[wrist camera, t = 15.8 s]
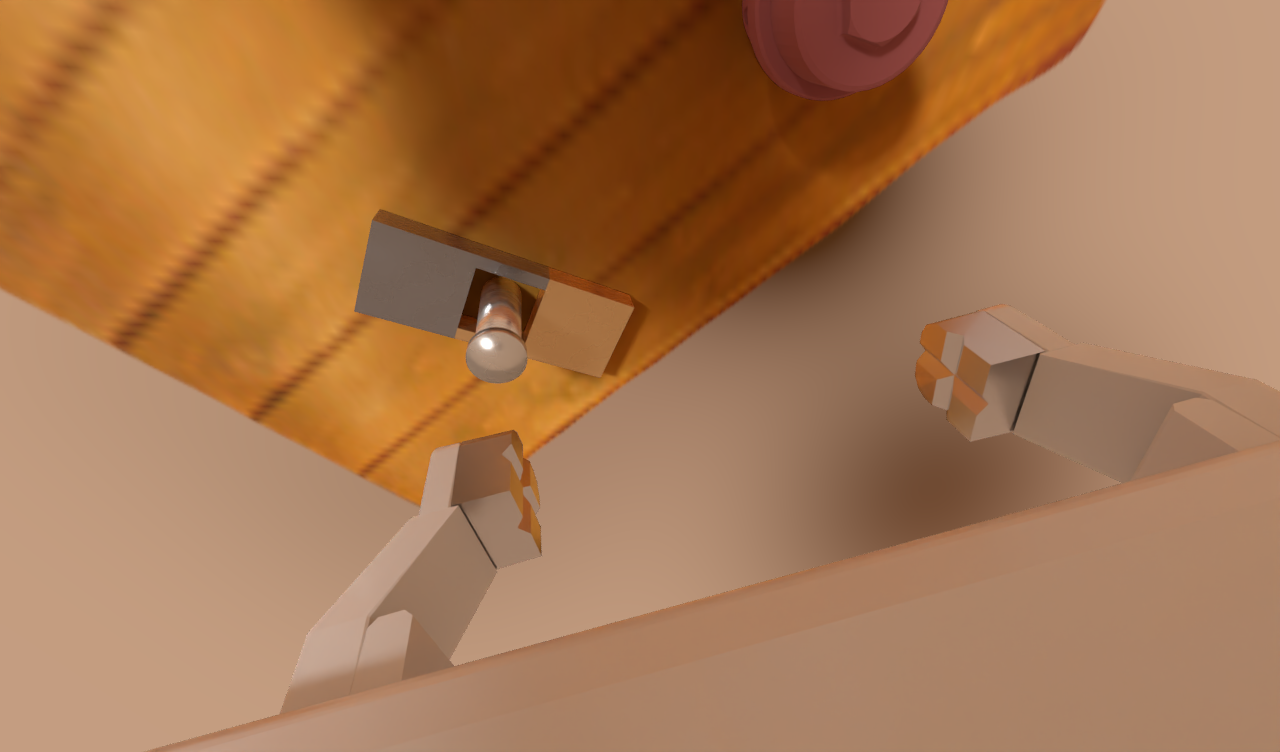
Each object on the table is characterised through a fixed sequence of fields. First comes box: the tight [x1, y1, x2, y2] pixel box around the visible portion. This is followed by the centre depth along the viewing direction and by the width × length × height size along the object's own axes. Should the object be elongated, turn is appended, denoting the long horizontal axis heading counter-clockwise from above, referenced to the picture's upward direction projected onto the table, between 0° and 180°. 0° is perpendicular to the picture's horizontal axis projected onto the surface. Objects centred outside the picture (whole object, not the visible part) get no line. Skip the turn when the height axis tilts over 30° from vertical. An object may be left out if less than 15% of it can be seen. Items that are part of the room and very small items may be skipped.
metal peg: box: [466, 277, 527, 383], centre depth 39 cm, size 4×4×10 cm
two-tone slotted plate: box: [355, 209, 634, 378], centre depth 42 cm, size 20×7×2 cm, turn 65°
